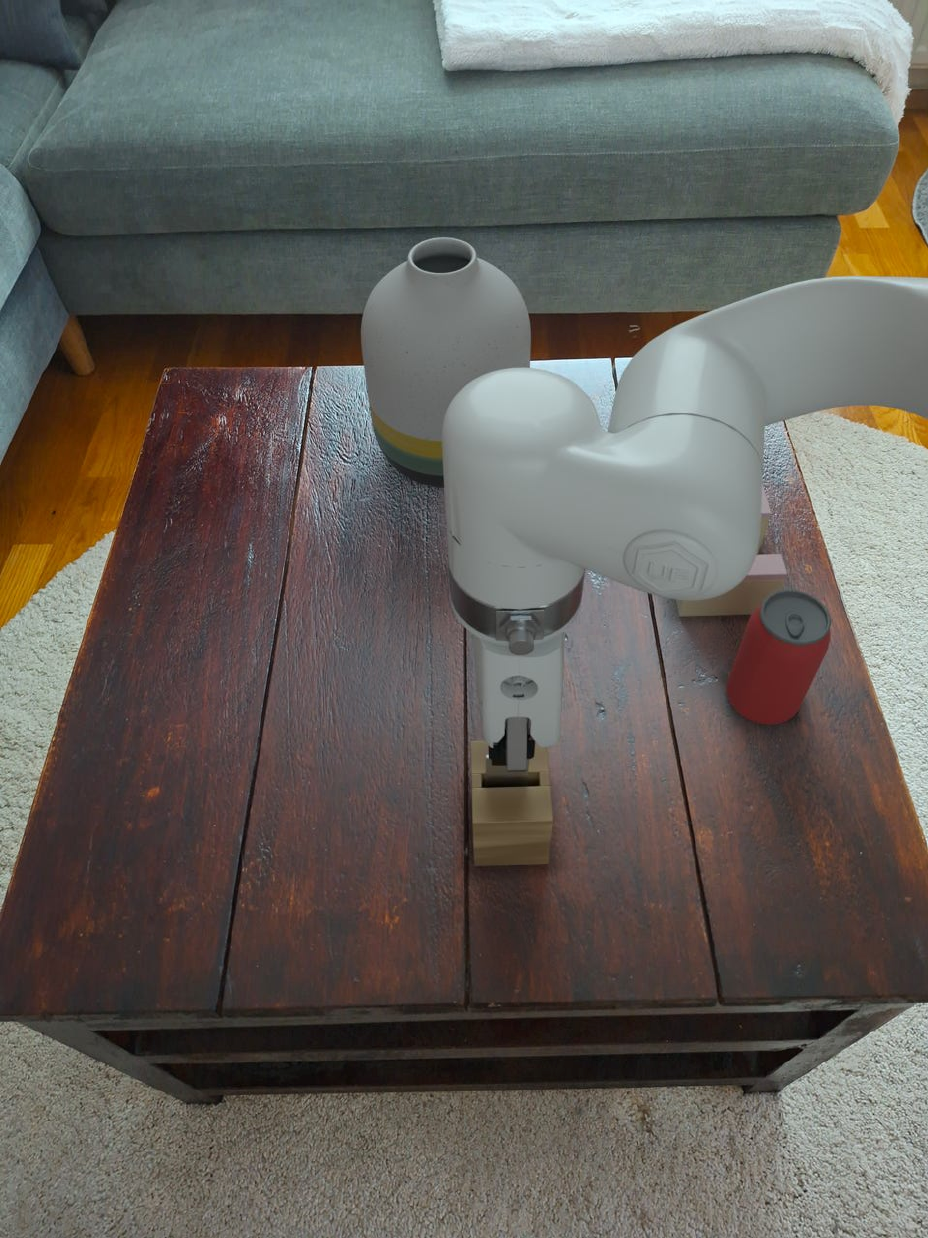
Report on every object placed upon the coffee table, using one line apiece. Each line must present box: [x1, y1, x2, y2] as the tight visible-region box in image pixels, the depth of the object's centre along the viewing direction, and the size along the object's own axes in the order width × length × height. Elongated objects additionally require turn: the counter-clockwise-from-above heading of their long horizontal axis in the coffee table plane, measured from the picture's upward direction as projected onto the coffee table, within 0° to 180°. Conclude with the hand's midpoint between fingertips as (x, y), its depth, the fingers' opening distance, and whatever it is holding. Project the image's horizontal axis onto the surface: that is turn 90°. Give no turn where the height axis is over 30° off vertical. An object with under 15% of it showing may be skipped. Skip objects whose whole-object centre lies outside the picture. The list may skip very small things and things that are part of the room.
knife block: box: [469, 740, 554, 867], centre depth 74 cm, size 7×6×8 cm
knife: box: [485, 755, 530, 788], centre depth 70 cm, size 2×3×16 cm, turn 90°
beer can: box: [725, 589, 832, 726], centre depth 80 cm, size 7×7×12 cm
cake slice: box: [675, 553, 788, 617], centre depth 89 cm, size 2×9×6 cm, turn 91°
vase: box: [360, 236, 532, 489], centre depth 96 cm, size 17×17×24 cm
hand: (510, 742), depth 67 cm, fingers closed on knife
